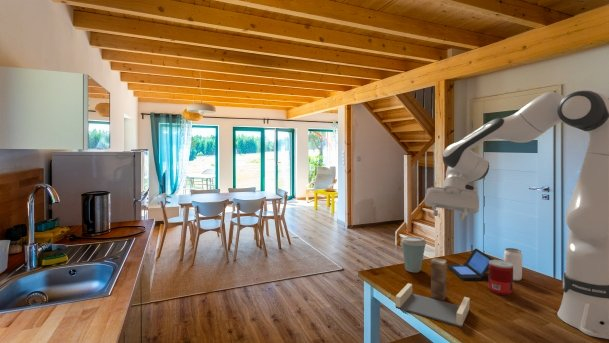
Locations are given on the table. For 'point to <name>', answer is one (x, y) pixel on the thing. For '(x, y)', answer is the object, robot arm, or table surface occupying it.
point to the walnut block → (438, 278)
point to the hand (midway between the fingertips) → (447, 217)
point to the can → (514, 261)
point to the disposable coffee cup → (413, 253)
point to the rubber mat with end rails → (432, 307)
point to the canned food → (500, 277)
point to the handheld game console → (472, 266)
